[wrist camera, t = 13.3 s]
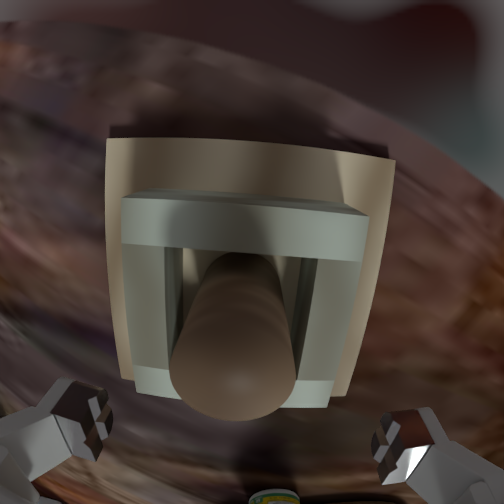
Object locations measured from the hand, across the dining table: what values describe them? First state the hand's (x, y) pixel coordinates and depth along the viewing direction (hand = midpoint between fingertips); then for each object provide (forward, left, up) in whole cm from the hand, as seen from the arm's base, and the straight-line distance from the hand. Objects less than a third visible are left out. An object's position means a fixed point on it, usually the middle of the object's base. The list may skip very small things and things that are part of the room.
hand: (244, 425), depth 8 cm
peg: (0, 0, -10) cm, 10 cm away
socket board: (+1, 0, -11) cm, 11 cm away
